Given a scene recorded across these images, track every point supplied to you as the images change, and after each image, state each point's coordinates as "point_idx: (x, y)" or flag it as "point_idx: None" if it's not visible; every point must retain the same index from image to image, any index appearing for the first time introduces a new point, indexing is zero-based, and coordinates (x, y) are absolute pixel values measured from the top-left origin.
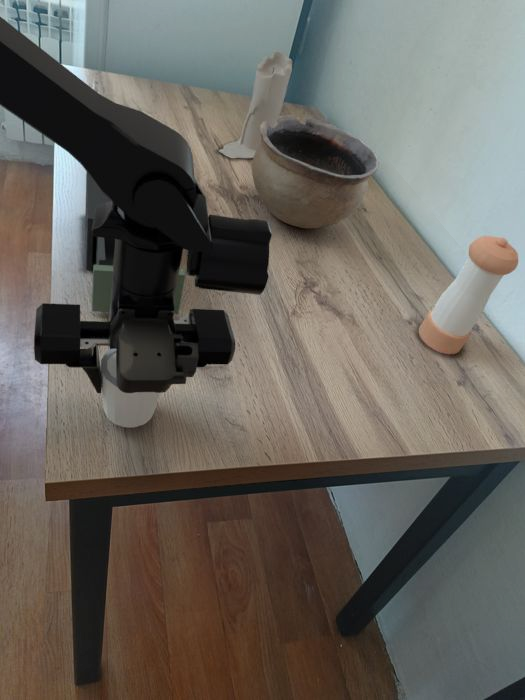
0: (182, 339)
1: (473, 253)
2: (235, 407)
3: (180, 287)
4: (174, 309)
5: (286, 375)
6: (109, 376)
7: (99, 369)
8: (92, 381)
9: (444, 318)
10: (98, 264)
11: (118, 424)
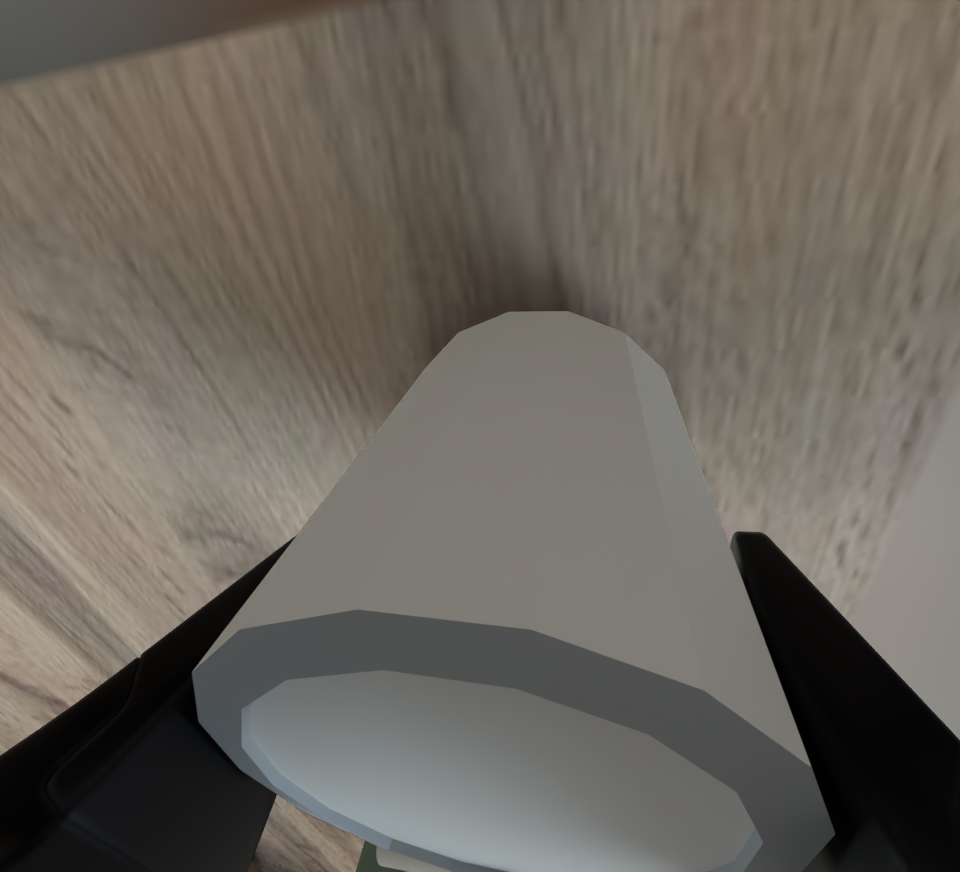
0: None
1: None
2: (117, 425)
3: (366, 866)
4: None
5: (21, 535)
6: (760, 785)
7: (866, 856)
8: (894, 683)
9: None
10: None
11: (603, 328)
